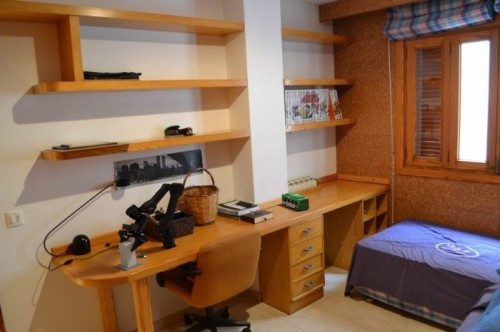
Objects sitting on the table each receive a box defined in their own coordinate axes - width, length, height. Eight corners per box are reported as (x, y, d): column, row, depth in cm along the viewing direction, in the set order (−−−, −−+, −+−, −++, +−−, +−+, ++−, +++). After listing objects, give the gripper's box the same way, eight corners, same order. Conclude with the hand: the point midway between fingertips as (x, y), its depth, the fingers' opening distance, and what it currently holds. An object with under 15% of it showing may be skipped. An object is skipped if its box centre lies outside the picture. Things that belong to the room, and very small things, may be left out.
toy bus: (294, 202, 323) (293, 190, 322) (309, 210, 298) (309, 197, 296) (281, 204, 320) (280, 192, 318) (296, 212, 294) (295, 199, 293)
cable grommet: (143, 253, 231) (143, 252, 231) (149, 255, 227) (149, 254, 227) (134, 256, 227) (134, 256, 227) (140, 258, 223) (140, 258, 223)
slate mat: (131, 260, 222) (131, 259, 222) (142, 264, 215) (142, 263, 215) (115, 266, 214) (115, 265, 214) (126, 270, 208) (126, 269, 208)
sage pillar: (129, 261, 219) (126, 240, 217) (136, 263, 216) (133, 241, 214) (121, 265, 214) (118, 243, 212) (128, 267, 211) (125, 245, 209)
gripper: (118, 215, 220) (103, 241, 212) (141, 218, 209) (127, 246, 202) (131, 225, 227) (117, 250, 220) (154, 228, 217) (141, 255, 210)
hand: (125, 250), depth 213 cm, fingers open, 9 cm apart
